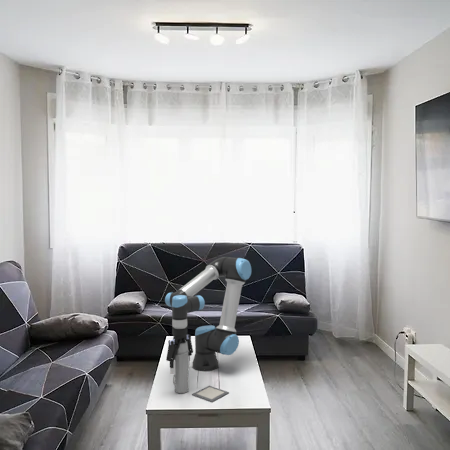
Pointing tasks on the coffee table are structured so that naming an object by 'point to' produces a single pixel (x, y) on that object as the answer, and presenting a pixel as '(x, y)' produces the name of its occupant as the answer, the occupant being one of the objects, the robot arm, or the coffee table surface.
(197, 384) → the coffee table surface
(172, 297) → the robot arm
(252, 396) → the coffee table surface
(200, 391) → the coaster mat
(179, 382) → the water bottle
